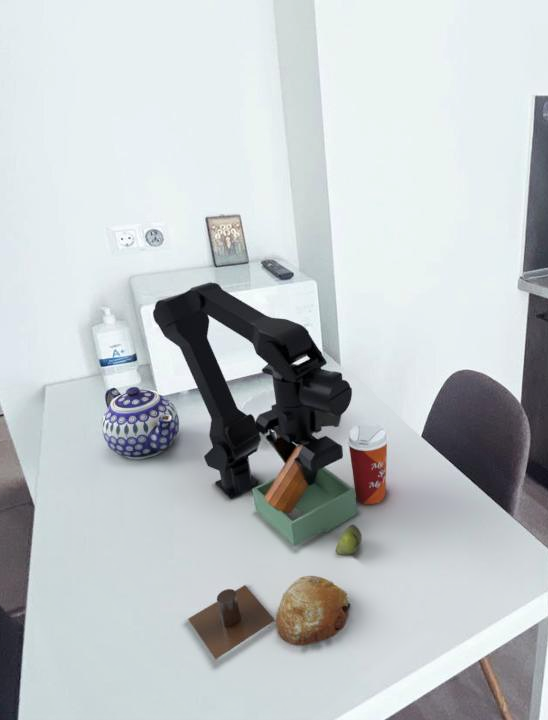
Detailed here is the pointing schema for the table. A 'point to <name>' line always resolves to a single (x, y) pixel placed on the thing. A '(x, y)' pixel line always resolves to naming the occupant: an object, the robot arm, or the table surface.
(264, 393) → the bowl
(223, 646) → the stand
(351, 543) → the lime
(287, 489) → the slatted orange pencil cup
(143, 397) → the teapot
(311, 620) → the bread roll
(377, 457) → the paper cup
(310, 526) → the bin
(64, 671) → the table surface
